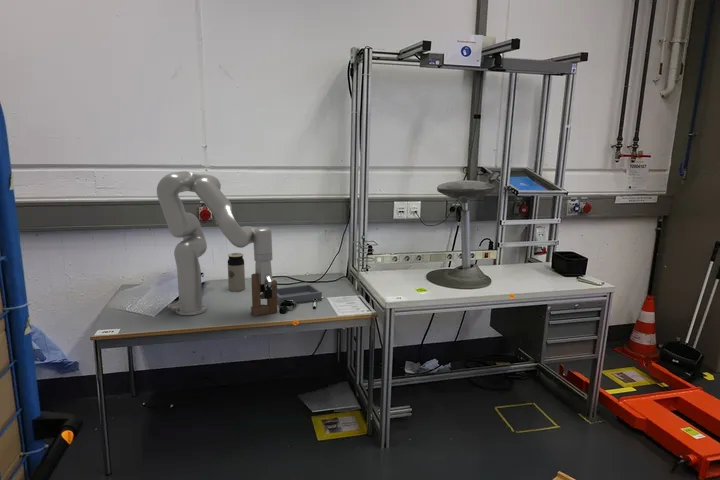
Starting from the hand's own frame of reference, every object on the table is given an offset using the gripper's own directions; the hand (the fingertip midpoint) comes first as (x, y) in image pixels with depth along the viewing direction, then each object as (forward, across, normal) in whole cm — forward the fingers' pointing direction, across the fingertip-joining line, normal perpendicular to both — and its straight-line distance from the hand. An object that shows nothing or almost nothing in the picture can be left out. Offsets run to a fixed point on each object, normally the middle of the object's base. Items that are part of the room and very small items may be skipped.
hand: (265, 295), depth 207 cm
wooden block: (+8, 0, -1) cm, 8 cm away
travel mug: (+8, -39, -4) cm, 40 cm away
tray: (+8, -13, +18) cm, 24 cm away
